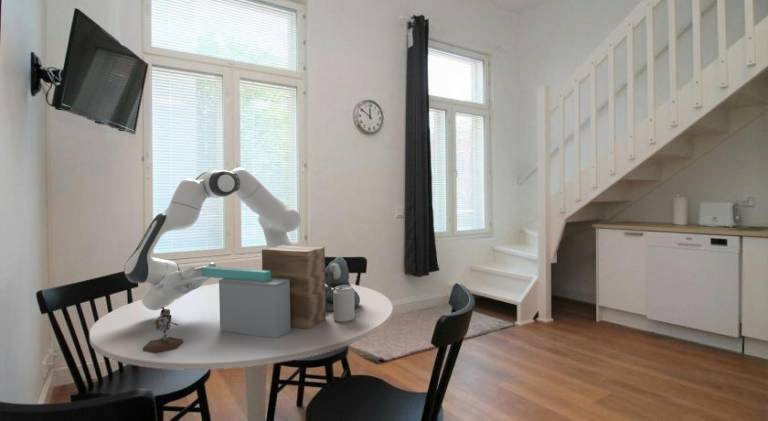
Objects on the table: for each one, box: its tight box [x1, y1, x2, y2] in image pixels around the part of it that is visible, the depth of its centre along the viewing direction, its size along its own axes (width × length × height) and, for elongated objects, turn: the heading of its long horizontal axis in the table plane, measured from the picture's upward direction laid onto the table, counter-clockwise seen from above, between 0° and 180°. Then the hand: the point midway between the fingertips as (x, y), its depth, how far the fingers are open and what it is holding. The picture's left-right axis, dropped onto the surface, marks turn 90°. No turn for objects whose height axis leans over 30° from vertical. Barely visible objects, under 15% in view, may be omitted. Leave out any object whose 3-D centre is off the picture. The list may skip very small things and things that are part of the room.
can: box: [333, 285, 356, 323], centre depth 148 cm, size 8×8×12 cm
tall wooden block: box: [261, 245, 326, 330], centre depth 147 cm, size 12×18×26 cm, turn 70°
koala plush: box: [325, 256, 361, 312], centre depth 165 cm, size 17×18×20 cm
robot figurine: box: [142, 305, 184, 354], centre depth 124 cm, size 11×9×12 cm
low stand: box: [218, 278, 291, 339], centre depth 137 cm, size 8×22×17 cm, turn 70°
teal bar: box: [202, 265, 271, 282], centre depth 139 cm, size 3×26×3 cm, turn 70°
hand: (204, 266), depth 144 cm, fingers open, 8 cm apart
